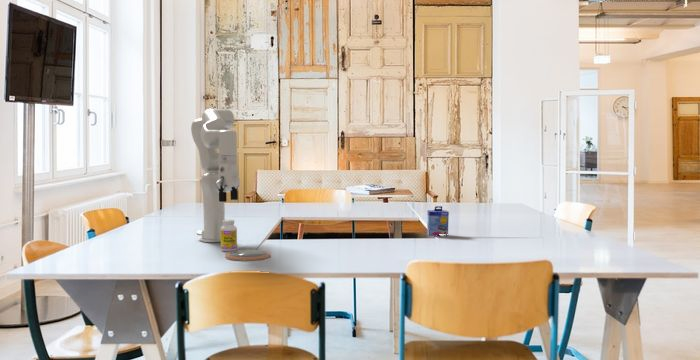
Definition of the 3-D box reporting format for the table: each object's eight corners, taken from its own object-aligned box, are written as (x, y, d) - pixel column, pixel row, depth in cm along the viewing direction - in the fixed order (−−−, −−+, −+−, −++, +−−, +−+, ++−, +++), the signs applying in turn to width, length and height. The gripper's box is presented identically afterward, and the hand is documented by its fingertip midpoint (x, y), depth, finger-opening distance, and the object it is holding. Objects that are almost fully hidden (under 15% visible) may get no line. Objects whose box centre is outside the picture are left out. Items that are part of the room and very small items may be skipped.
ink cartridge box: (428, 236, 310) (428, 206, 309) (426, 234, 316) (426, 205, 315) (448, 236, 311) (449, 206, 310) (446, 234, 316) (446, 205, 315)
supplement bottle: (221, 252, 267) (221, 221, 266) (220, 249, 274) (219, 219, 273) (237, 251, 269) (237, 220, 268) (236, 248, 275) (235, 219, 275)
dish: (216, 259, 252) (216, 255, 252) (238, 251, 269) (238, 248, 269) (258, 262, 246) (258, 258, 246) (277, 253, 263) (277, 250, 263)
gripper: (225, 160, 259) (226, 202, 260) (245, 159, 276) (246, 199, 277) (209, 160, 262) (210, 202, 263) (230, 159, 278) (230, 198, 279)
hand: (228, 200), depth 270 cm, fingers open, 9 cm apart
